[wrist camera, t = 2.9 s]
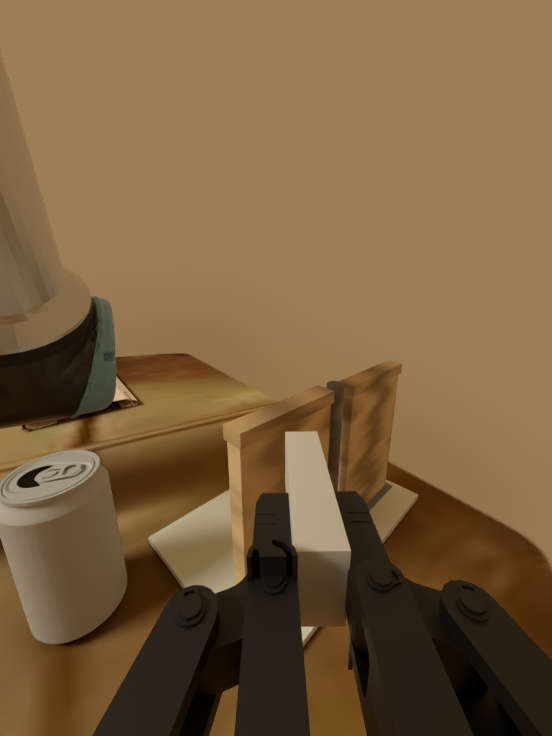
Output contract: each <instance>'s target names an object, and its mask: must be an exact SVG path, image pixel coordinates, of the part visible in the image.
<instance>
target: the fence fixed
mask: <svg viewBox="0 0 552 736" xmlns="http://www.w3.org/2000/svg"><path fill="white" fill-rule="evenodd" d="M401 368H402V364H401V363H396V362H391V361H386V362H384V363H381V364H379V365H376V366H374V367H372V368H369V369H367V370H365V371H362V372H360V373H357V374H355V375H353V376H350V377H348V378H346V379H343V380H341V381H339V382H342V383H344V384H345V387H344V401H343V416H342V431H341V446H340V460H339V475H338V490H337V491H356V492H357V493H358V494H359V495H360V496H361V497H362V498H363V499H364V500H365V502H366V504H367V503H368V502H369V501H370V500H371V499H372V498H373V497H374V496H375V495H376V494H377V493H378V492H379V491H380V490H381V489H382V488H383V486H384V485H385V481H386V473H387V464H388V456H389V448H390V440H391V432H392V422H393V415H394V407H395V398H396V390H397V381H398V374H400V373H401Z"/></svg>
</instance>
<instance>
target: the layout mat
mask: <svg viewBox="0 0 552 736" xmlns="http://www.w3.org/2000/svg"><path fill="white" fill-rule="evenodd" d="M417 499H418V494H416V493H414V492H412V491H410V490H408V489H405V488H403V487H401V486H399V485H397V484H395V483H393V482H391V481H388V480H386V481H385V485H384V486H383V488H382V489H381V490H380V491H379V492H378V493H377V494H376V495H375V496H374V497H373V498H372V499H371V500H370V501H369V502H368V503H367V507H368V509H369V513H370V514H371V517H372V519H373V523H374V524H375V526H376V529H377V531H378V534H379V536H380V539H381V541H382V543H384V542H385V541H386V539H387V538H388V537H389V535H390V534H391V533H392V532H393V530H394V529H395V528H396V526H397V525H398V524H399V522H400V521H401V520H402V519H403V517H404V516H405V515H406V513H407V512H408V511H409V510H410V508H411V507H412V506H413V504H414V503H415V502H416V500H417ZM148 539H149V543H150V544H151V546H152V547H153V548H154V550H155V551H156V553H157V554H158V555H159V557H160V558H161V559H162V561H163V562H164V563H165V565H166V566H167V568H168V569H169V570H170V572H171V573H172V574H173V576H174V577H175V578H176V580H177V581H178V582H179V584H180V585H181V587H182V588H186V587H189V586H192V585H204V586H206V587H208V588H210V589H211V590H212V591H213V592H214V593H217V592H220V591H223V590H226V589H229V588H231V587H233V586H235V576H234V558H233V540H232V521H231V503H230V489H229V490H227V491H225V492H224V493H222V494H220V495H219V496H217V497H215V498H214V499H212V500H210V501H209V502H207V503H205V504H204V505H202V506H200V507H198V508H197V509H195V510H193V511H192V512H190V513H188V514H187V515H185V516H183V517H182V518H180V519H178V520H177V521H175V522H173V523H172V524H170V525H168V526H167V527H165V528H163V529H161V530H160V531H158V532H156V533H155V534H153V535H151V536H150V537H148ZM317 629H318V627H301V630H302V642H303V647H304V645H305V644H306V643H307V641H308V640H309V639H310V638H311V636H312V635H313V634H314V632H315V631H316V630H317Z"/></svg>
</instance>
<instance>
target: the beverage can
mask: <svg viewBox="0 0 552 736" xmlns="http://www.w3.org/2000/svg"><path fill="white" fill-rule="evenodd" d="M0 538H1V541H2V545H3V548H4V551H5V554H6V557H7V560H8V563H9V566H10V569H11V572H12V575H13V578H14V581H15V584H16V587H17V590H18V593H19V596H20V600H21V603H22V606H23V609H24V612H25V615H26V618H27V621H28V624H29V627H30V630H31V632H32V634H33V636H34V637H35V638H36V639H37V640H39V641H41V642H43V643H47V644H62V643H67V642H70V641H73V640H76V639H78V638H80V637H82V636H84V635H86V634H88V633H89V632H91V631H93V630H94V629H95V628H97V627H98V626H99V625H101V624H102V623H103V622H104V621H105V620H106V619H107V618H108V617H109V616H110V615H111V614H112V613H113V612H114V610H115V609H116V608H117V606H118V605H119V603H120V602H121V600H122V598H123V596H124V594H125V591H126V587H127V572H126V566H125V561H124V555H123V550H122V544H121V539H120V533H119V528H118V523H117V517H116V512H115V506H114V501H113V495H112V490H111V484H110V479H109V474H108V471H107V469H106V468H105V467H104V466H103V465H101V464H100V459H99V457H98V456H97V455H96V454H95V453H93V452H90V451H85V450H69V451H62V452H57V453H53V454H49V455H45V456H42V457H39V458H37V459H34V460H32V461H30V462H27V463H25V464H23V465H21V466H20V467H18V468H16V469H15V470H13V471H11V472H10V473H9V474H7V475H6V476H5V477H4V478H3V479H2V480H1V481H0Z"/></svg>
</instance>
